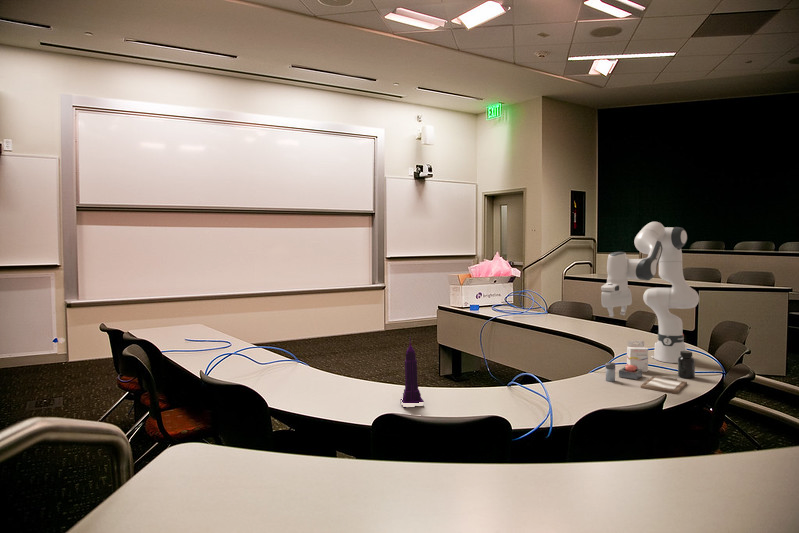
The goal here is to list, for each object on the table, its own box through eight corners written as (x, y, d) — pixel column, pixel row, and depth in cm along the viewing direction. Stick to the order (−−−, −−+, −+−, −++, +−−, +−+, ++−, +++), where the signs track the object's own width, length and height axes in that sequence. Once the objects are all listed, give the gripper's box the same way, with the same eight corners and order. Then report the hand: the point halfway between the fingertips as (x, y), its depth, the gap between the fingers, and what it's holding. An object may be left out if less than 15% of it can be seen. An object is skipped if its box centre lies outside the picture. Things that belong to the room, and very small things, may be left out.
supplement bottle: (688, 374, 226) (688, 349, 226) (698, 378, 220) (698, 353, 219) (674, 375, 226) (674, 350, 226) (683, 379, 219) (683, 353, 219)
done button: (627, 370, 229) (627, 364, 229) (637, 371, 226) (637, 365, 226) (624, 372, 226) (624, 366, 226) (633, 373, 223) (633, 367, 223)
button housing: (624, 373, 232) (624, 366, 232) (642, 376, 226) (642, 369, 226) (618, 377, 226) (618, 370, 226) (636, 380, 220) (636, 373, 220)
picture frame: (653, 378, 222) (653, 374, 222) (687, 384, 212) (687, 379, 212) (640, 387, 209) (640, 383, 209) (676, 394, 199) (676, 389, 199)
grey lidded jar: (607, 378, 224) (607, 362, 223) (616, 380, 221) (616, 363, 221) (604, 380, 221) (604, 363, 220) (613, 382, 218) (613, 365, 218)
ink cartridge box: (630, 371, 234) (630, 342, 233) (626, 369, 239) (626, 340, 238) (648, 371, 233) (648, 342, 232) (644, 369, 238) (644, 340, 237)
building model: (403, 408, 192) (400, 335, 191) (400, 403, 199) (398, 332, 197) (424, 406, 194) (421, 334, 192) (420, 401, 200) (418, 331, 199)
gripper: (622, 285, 229) (622, 313, 230) (598, 287, 218) (598, 317, 218) (635, 285, 224) (635, 314, 224) (611, 287, 212) (611, 318, 213)
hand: (617, 316), depth 221 cm, fingers open, 8 cm apart
